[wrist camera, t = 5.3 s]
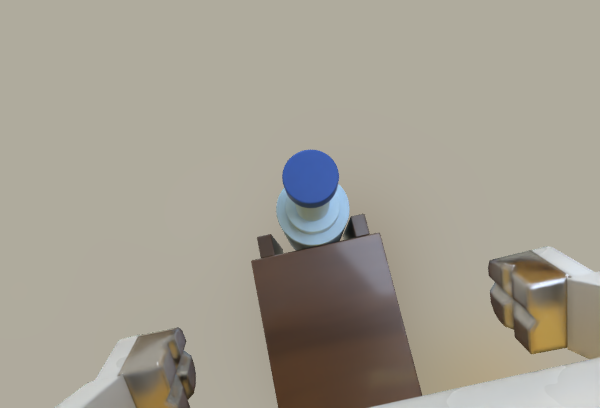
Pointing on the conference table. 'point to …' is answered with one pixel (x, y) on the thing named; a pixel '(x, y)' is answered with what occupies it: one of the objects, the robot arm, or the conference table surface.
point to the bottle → (312, 201)
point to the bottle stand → (334, 323)
